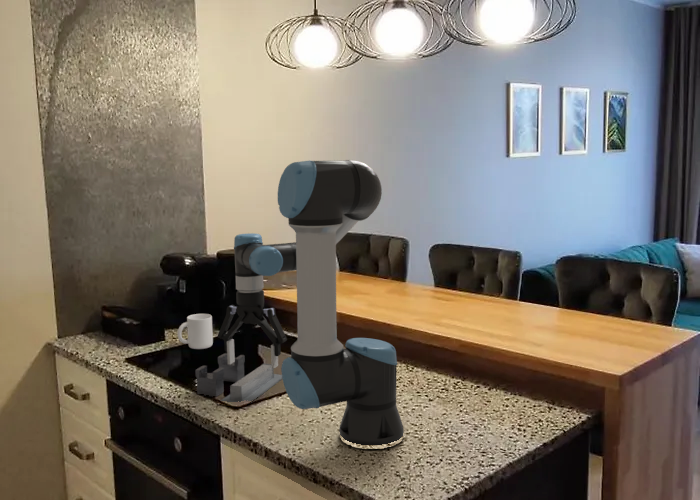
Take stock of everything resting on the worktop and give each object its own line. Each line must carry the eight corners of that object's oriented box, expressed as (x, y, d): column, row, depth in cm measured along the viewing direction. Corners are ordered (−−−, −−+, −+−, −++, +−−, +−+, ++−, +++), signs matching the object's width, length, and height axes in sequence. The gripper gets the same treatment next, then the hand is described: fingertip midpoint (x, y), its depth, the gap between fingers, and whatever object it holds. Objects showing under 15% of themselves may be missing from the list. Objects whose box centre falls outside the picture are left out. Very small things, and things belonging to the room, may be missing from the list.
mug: (182, 352, 228) (180, 322, 226) (174, 346, 235) (172, 317, 233) (216, 346, 234) (215, 317, 233) (208, 341, 241) (206, 312, 240)
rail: (240, 401, 183) (240, 387, 183) (230, 400, 184) (230, 385, 184) (273, 377, 202) (273, 364, 201) (264, 376, 203) (263, 363, 202)
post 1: (217, 397, 188) (216, 372, 187) (196, 394, 190) (195, 369, 189) (224, 392, 192) (223, 367, 191) (204, 389, 194) (203, 365, 193)
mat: (243, 408, 180) (243, 407, 180) (216, 404, 182) (216, 403, 182) (285, 376, 204) (285, 375, 204) (261, 373, 207) (261, 372, 207)
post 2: (238, 382, 199) (237, 359, 198) (218, 380, 201) (217, 357, 200) (245, 378, 203) (244, 355, 202) (225, 375, 205) (224, 353, 204)
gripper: (297, 289, 188) (299, 364, 191) (217, 285, 196) (220, 357, 199) (285, 294, 181) (288, 372, 184) (203, 290, 189) (206, 365, 192)
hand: (252, 365), depth 192 cm, fingers open, 13 cm apart
